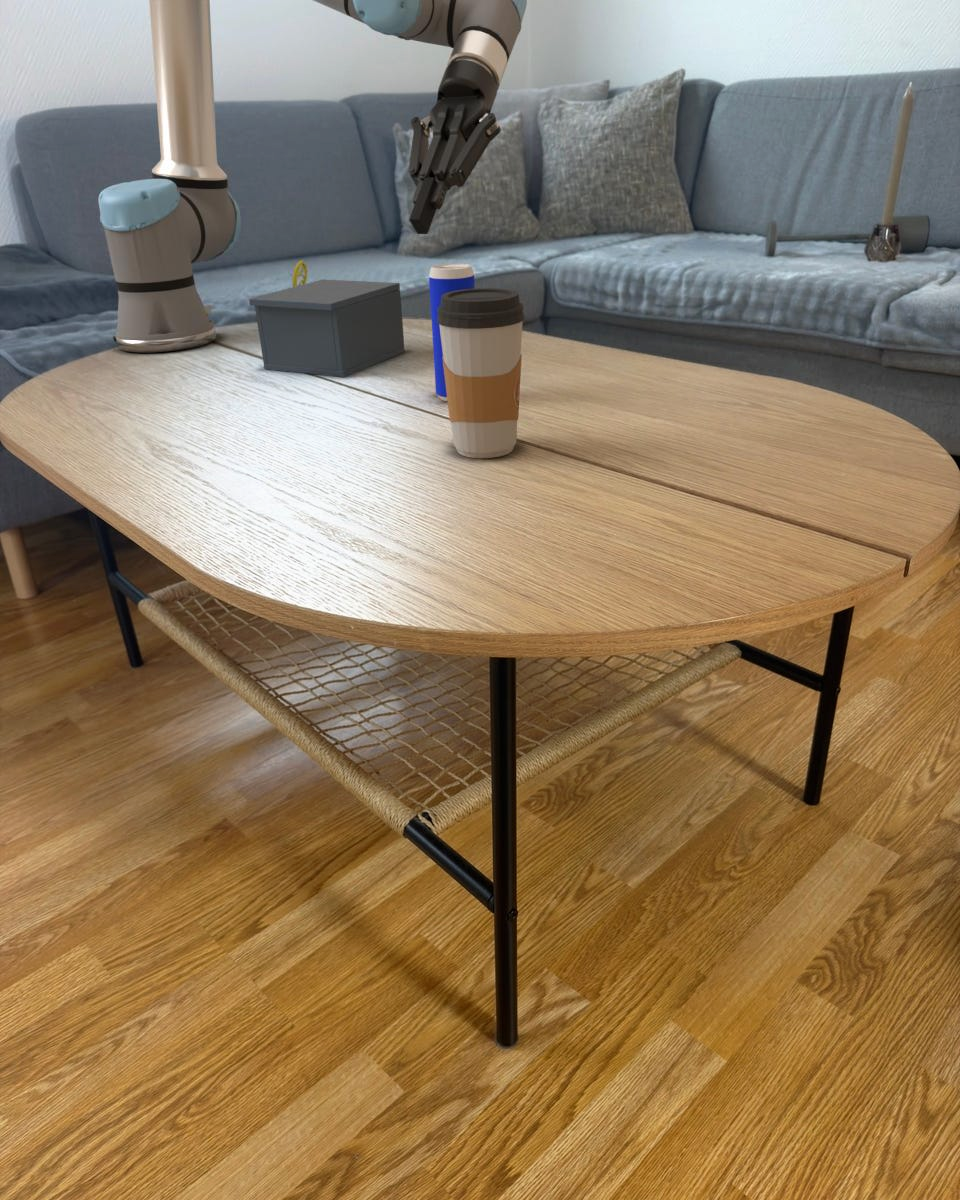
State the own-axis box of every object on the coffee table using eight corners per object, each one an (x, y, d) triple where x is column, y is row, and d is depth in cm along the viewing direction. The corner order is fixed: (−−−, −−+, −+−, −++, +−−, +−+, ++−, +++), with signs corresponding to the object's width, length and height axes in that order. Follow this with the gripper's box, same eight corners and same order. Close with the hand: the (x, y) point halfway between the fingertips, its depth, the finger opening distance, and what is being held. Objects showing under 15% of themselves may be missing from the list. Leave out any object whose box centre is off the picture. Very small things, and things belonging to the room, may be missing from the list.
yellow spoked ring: (302, 362, 147) (261, 323, 139) (291, 360, 149) (250, 321, 141) (341, 300, 149) (304, 259, 141) (330, 299, 151) (292, 257, 143)
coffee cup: (527, 461, 84) (525, 301, 77) (441, 463, 85) (432, 304, 78) (524, 434, 92) (523, 285, 85) (446, 436, 92) (438, 288, 85)
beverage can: (485, 393, 107) (481, 263, 100) (467, 404, 103) (461, 270, 95) (448, 389, 109) (441, 262, 102) (428, 400, 105) (420, 269, 97)
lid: (331, 310, 111) (330, 303, 111) (249, 305, 117) (248, 298, 117) (400, 289, 124) (399, 282, 124) (323, 285, 130) (322, 279, 129)
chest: (343, 377, 116) (335, 309, 112) (264, 369, 122) (254, 304, 118) (404, 351, 128) (400, 289, 124) (330, 345, 134) (323, 285, 130)
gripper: (524, 100, 118) (473, 247, 113) (440, 105, 124) (388, 245, 119) (506, 52, 112) (451, 206, 107) (419, 60, 117) (362, 206, 112)
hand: (418, 226), depth 113 cm, fingers closed
